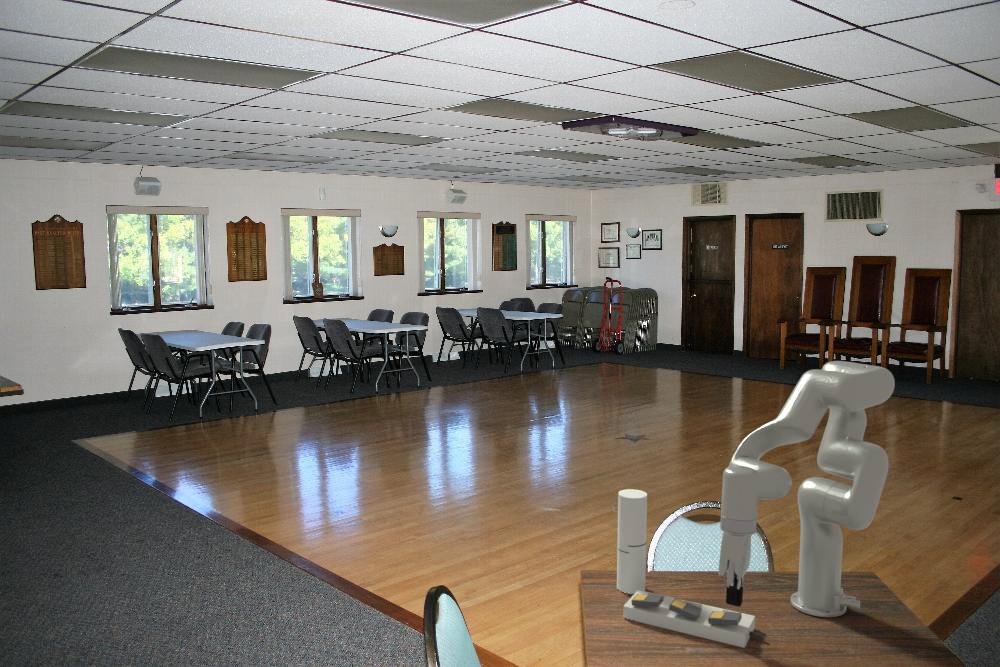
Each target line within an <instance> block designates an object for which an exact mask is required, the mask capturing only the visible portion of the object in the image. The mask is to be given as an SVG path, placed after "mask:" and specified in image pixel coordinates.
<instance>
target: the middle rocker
mask: <svg viewBox="0 0 1000 667" xmlns="http://www.w3.org/2000/svg"><path fill="white" fill-rule="evenodd" d="M674 598H675V599H674V600H673V601H672V603H671V604H670V606H669V610H671V611H673V612H676V613H678V614H681V615H683V616H686V617H688V618H691V619H693V620H697V618H698V617H699V615H700V614H701V610H702V609H701V608H699V607H696V606H694V605H691V604H689V603H686V602H684V601H681V600H679V599H680V598H677V597H674ZM676 598H677V599H676Z"/></svg>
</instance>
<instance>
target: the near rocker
mask: <svg viewBox="0 0 1000 667" xmlns="http://www.w3.org/2000/svg"><path fill="white" fill-rule="evenodd" d="M735 612H736V611H735ZM735 612H718V611H713V612H712V613H711V615H710V616H709V618H708V622H709V624H721V625H736V626H738V624H739V622H740V621H741V619H742V615H741V613H742V612H739V613H735Z"/></svg>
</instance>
